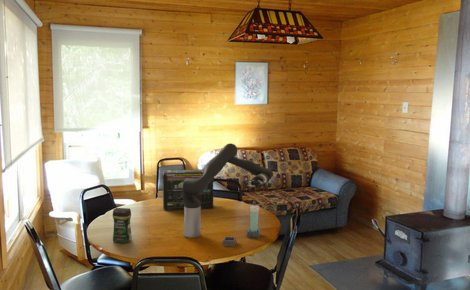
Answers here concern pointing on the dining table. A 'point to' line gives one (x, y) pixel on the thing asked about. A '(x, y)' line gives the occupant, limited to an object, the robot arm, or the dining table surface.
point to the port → (253, 234)
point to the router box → (175, 189)
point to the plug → (254, 217)
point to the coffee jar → (122, 225)
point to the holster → (229, 241)
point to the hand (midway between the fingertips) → (252, 185)
